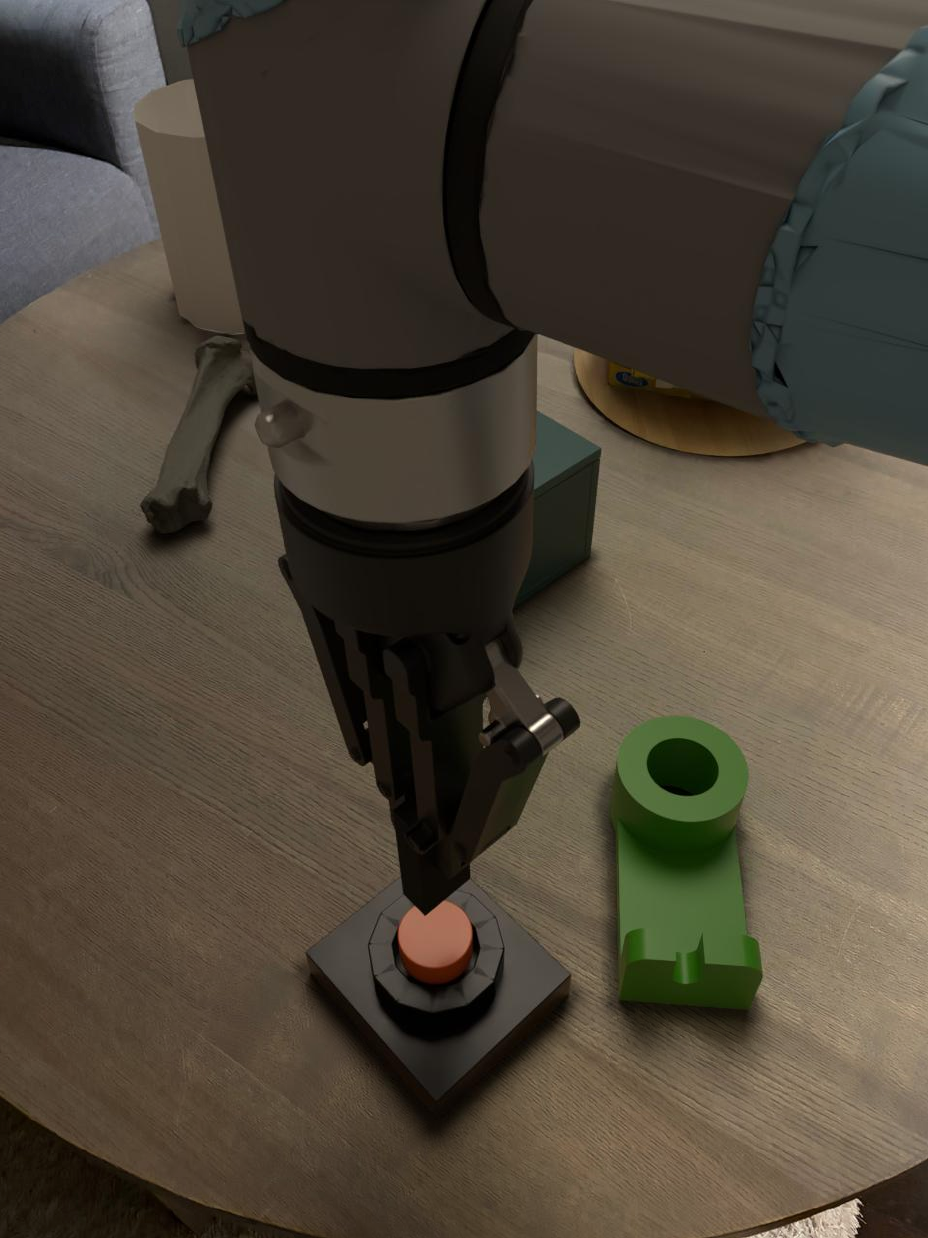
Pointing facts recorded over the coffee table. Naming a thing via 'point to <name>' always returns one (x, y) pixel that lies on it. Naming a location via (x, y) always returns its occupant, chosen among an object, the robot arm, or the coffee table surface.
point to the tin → (561, 529)
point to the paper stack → (675, 412)
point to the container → (188, 207)
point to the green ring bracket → (681, 868)
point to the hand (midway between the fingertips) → (437, 886)
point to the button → (436, 943)
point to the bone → (198, 436)
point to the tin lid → (559, 454)
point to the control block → (439, 993)
